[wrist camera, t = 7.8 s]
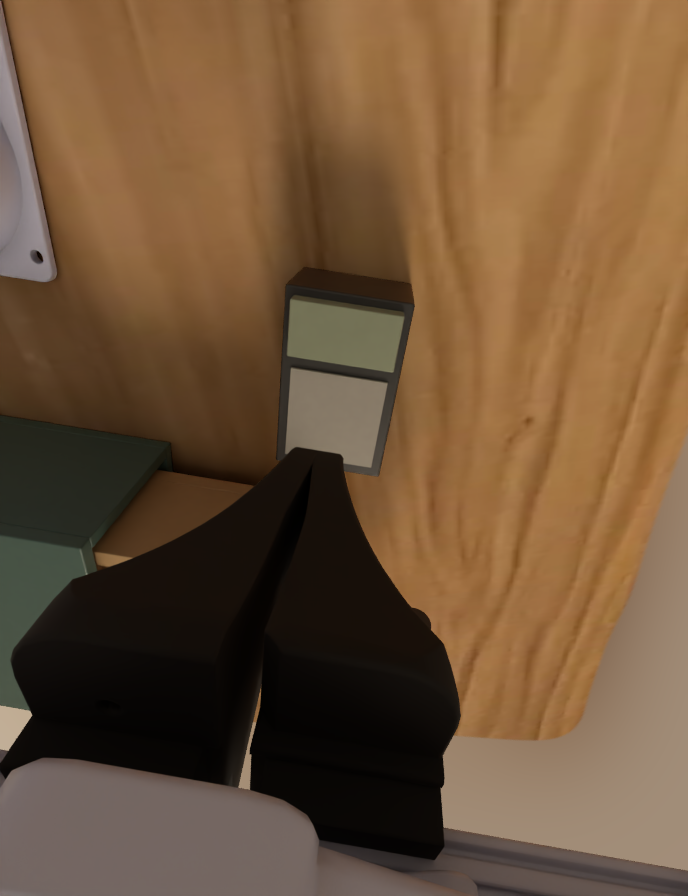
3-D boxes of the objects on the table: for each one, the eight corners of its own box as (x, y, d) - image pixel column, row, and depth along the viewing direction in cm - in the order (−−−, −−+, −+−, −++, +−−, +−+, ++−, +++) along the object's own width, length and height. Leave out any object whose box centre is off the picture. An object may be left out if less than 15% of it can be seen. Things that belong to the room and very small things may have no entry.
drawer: (435, 504, 22) (447, 604, 17) (391, 647, 29) (391, 751, 23) (74, 445, 23) (-22, 525, 17) (110, 599, 29) (47, 691, 24)
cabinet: (170, 442, 23) (80, 548, 16) (186, 607, 30) (128, 728, 23) (-97, 398, 23) (-290, 486, 17) (-19, 572, 30) (-133, 682, 24)
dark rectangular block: (291, 422, 21) (272, 468, 18) (303, 266, 18) (281, 287, 14) (381, 437, 21) (378, 486, 18) (411, 283, 18) (415, 308, 14)
